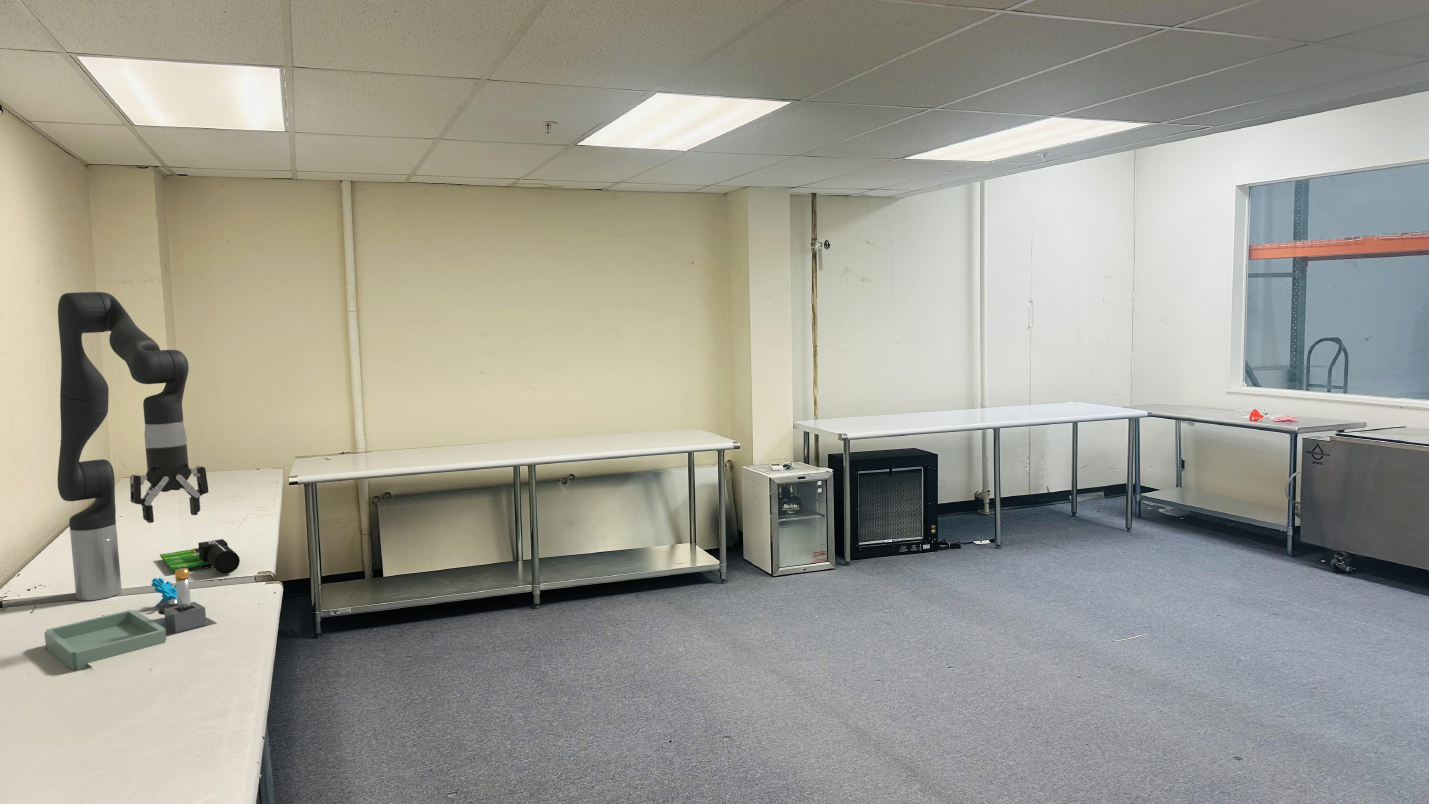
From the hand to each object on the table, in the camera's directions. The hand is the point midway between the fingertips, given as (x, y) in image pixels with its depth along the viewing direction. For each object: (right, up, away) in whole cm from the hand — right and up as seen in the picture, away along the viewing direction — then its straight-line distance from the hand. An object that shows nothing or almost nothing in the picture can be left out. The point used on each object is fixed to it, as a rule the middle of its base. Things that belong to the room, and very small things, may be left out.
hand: (172, 518), depth 190 cm
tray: (-9, -26, -7) cm, 28 cm away
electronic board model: (-23, -20, +51) cm, 59 cm away
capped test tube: (+2, -24, +2) cm, 24 cm away
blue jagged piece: (-10, -23, +17) cm, 31 cm away
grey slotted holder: (0, -24, +4) cm, 25 cm away
